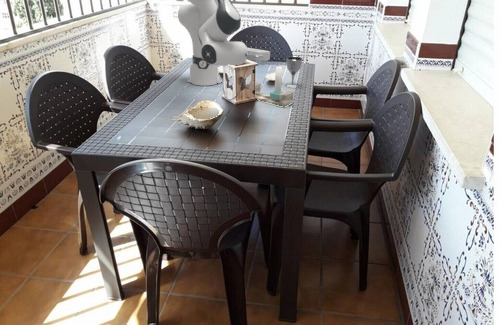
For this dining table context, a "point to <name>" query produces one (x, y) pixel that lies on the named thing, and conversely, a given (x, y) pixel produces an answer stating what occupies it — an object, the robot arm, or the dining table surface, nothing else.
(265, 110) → the dining table surface
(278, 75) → the white tall piece
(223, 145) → the dining table surface
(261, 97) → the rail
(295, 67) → the wine glass
